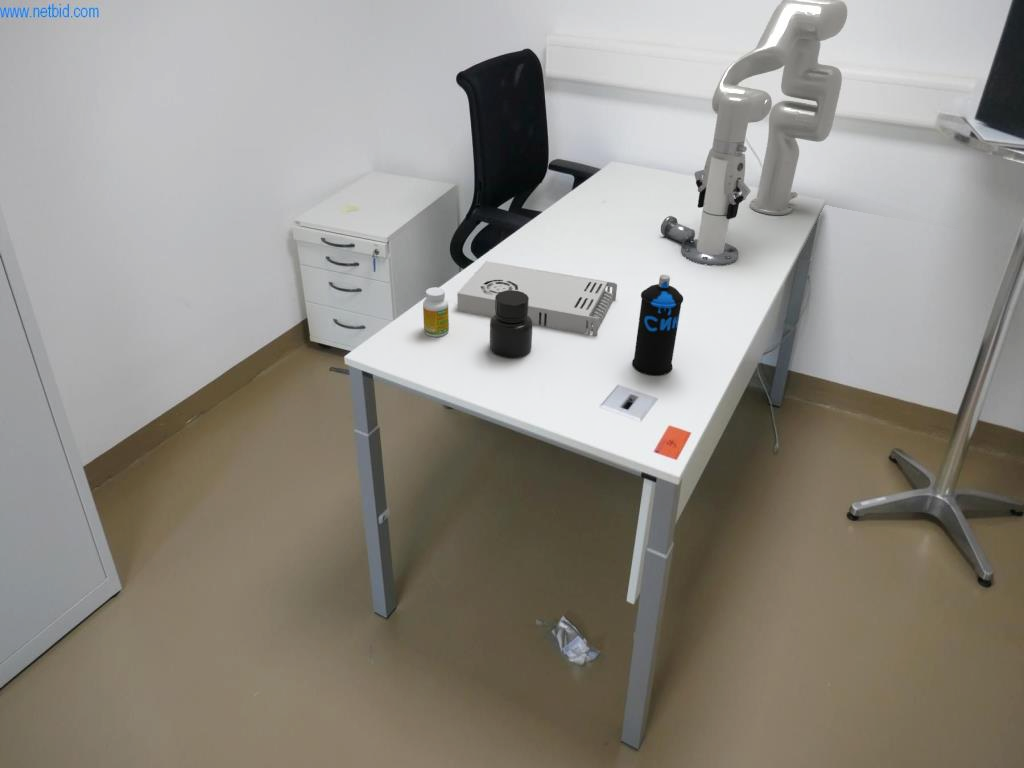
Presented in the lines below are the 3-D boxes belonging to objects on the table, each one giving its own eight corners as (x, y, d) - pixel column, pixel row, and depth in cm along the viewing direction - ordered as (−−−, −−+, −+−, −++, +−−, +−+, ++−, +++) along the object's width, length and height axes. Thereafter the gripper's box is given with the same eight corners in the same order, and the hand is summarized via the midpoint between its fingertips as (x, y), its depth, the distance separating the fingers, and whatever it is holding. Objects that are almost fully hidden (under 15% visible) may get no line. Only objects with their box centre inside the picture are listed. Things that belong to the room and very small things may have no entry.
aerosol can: (628, 355, 165) (639, 268, 154) (666, 354, 165) (680, 267, 154) (636, 376, 158) (648, 286, 147) (676, 375, 158) (691, 285, 148)
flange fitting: (749, 257, 209) (753, 237, 206) (711, 270, 202) (715, 250, 199) (684, 229, 225) (687, 210, 222) (647, 240, 217) (650, 221, 214)
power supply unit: (596, 338, 172) (598, 318, 169) (457, 312, 180) (456, 293, 178) (615, 301, 187) (617, 282, 184) (485, 279, 195) (486, 261, 193)
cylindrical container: (721, 245, 213) (738, 153, 199) (725, 255, 207) (742, 161, 193) (695, 243, 213) (710, 151, 200) (697, 254, 207) (713, 160, 194)
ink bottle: (537, 341, 169) (539, 291, 162) (528, 362, 161) (530, 310, 155) (493, 335, 170) (494, 285, 164) (482, 355, 163) (483, 304, 157)
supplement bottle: (439, 340, 168) (437, 299, 163) (419, 333, 170) (417, 292, 165) (453, 329, 172) (453, 289, 167) (433, 323, 174) (432, 283, 169)
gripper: (765, 152, 191) (752, 219, 200) (711, 135, 203) (700, 199, 212) (745, 157, 187) (733, 225, 197) (691, 140, 199) (681, 205, 208)
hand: (716, 212), depth 204 cm, fingers open, 9 cm apart
